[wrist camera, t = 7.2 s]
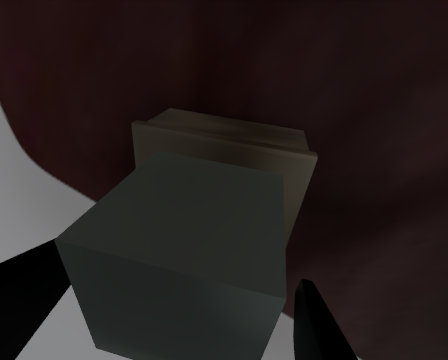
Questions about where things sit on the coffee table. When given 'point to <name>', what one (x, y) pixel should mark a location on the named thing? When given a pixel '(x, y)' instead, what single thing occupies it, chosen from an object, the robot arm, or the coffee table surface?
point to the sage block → (181, 261)
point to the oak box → (232, 148)
